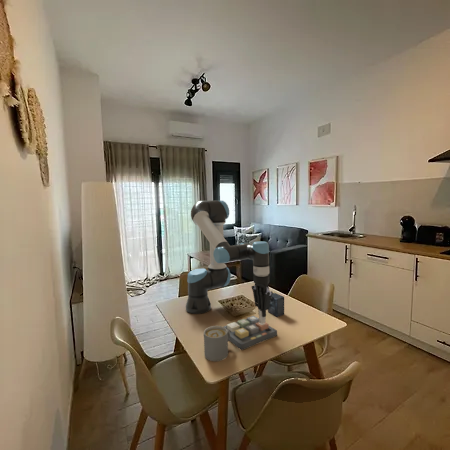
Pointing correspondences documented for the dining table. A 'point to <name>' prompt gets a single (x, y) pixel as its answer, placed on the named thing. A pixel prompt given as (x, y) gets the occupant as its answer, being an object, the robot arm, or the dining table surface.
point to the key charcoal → (252, 329)
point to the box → (276, 305)
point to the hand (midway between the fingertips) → (262, 322)
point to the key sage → (243, 323)
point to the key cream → (233, 326)
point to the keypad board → (252, 337)
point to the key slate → (253, 320)
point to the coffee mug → (216, 343)
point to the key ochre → (242, 333)
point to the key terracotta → (262, 326)
